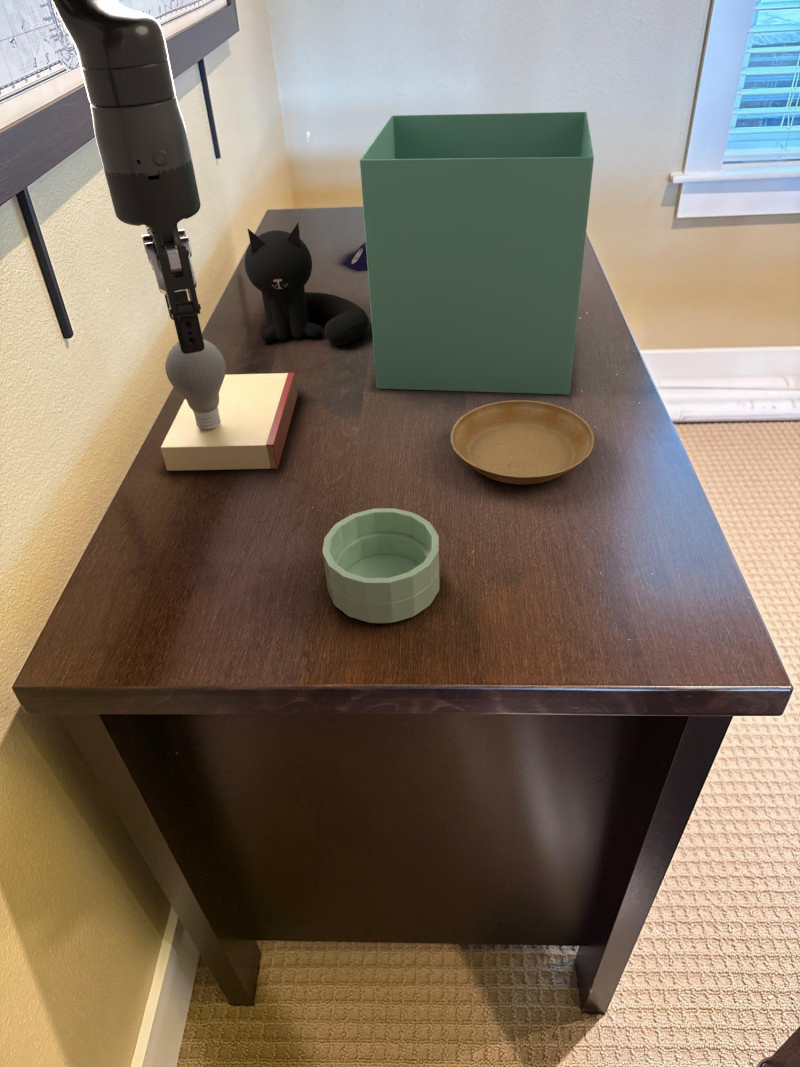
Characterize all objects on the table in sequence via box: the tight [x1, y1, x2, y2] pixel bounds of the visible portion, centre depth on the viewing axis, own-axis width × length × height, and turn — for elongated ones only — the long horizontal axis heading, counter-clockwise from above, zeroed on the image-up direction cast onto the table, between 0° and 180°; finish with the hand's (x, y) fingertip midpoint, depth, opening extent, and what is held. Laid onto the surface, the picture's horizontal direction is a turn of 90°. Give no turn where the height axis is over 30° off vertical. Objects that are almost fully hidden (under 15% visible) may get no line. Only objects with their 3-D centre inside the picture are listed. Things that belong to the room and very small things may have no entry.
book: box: [160, 371, 299, 472], centre depth 88 cm, size 16×12×3 cm
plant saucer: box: [450, 399, 595, 486], centre depth 81 cm, size 15×15×3 cm
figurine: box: [244, 222, 370, 346], centre depth 104 cm, size 16×14×15 cm
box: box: [359, 111, 595, 396], centre depth 93 cm, size 23×21×26 cm
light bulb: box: [164, 338, 227, 429], centre depth 81 cm, size 6×6×10 cm
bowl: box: [321, 507, 441, 624], centre depth 66 cm, size 10×10×5 cm
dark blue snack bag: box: [342, 241, 368, 272], centre depth 130 cm, size 9×15×4 cm, turn 126°
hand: (187, 333), depth 77 cm, fingers open, 8 cm apart
